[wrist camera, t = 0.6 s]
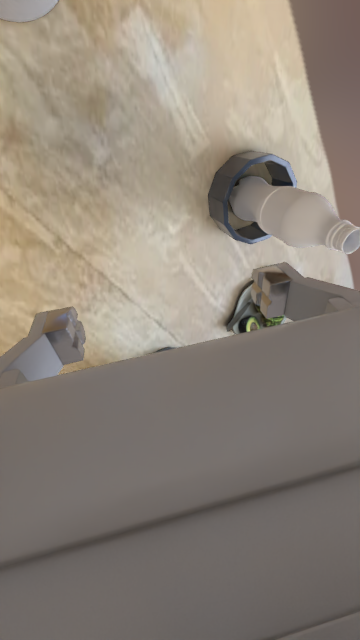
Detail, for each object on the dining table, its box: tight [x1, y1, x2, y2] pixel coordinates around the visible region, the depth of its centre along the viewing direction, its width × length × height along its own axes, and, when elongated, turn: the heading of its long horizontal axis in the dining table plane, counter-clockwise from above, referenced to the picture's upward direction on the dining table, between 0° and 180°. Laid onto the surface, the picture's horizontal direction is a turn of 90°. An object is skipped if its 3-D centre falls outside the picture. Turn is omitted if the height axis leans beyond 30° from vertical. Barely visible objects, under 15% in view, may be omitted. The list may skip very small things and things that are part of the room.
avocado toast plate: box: [227, 284, 287, 334], centre depth 65 cm, size 19×18×5 cm
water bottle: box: [229, 176, 360, 254], centre depth 40 cm, size 7×7×25 cm
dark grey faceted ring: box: [208, 151, 297, 244], centre depth 47 cm, size 14×14×6 cm
